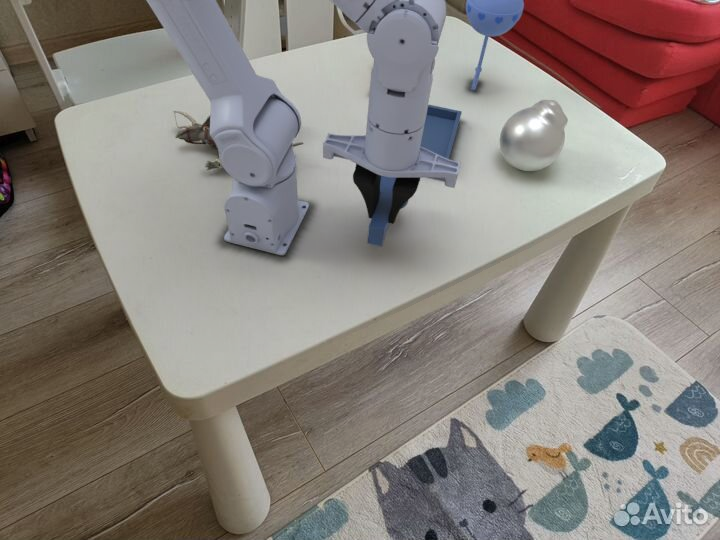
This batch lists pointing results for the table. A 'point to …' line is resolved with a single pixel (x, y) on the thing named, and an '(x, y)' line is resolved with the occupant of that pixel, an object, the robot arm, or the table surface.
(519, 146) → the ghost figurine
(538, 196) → the table surface
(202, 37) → the robot arm
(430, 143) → the blue tray
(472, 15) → the baby rattle
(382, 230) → the blue spoon
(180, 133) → the figurine
